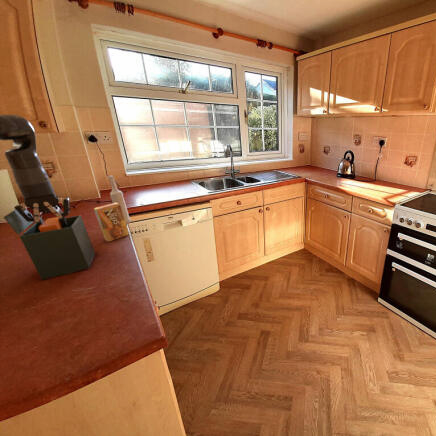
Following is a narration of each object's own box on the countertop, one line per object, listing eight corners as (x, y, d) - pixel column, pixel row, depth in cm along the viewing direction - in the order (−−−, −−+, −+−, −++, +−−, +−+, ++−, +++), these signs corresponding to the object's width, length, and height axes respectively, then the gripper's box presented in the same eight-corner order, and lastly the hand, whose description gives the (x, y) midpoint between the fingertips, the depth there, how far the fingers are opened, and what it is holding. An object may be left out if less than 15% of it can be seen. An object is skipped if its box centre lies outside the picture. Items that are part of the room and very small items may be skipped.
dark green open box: (41, 279, 83) (19, 236, 76) (53, 262, 93) (35, 222, 87) (89, 268, 88) (71, 227, 82) (95, 252, 99) (80, 215, 93)
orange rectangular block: (42, 237, 81) (38, 227, 79) (51, 227, 88) (47, 218, 87) (60, 233, 83) (56, 224, 81) (67, 224, 90) (63, 216, 89)
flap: (19, 234, 76) (17, 234, 76) (34, 220, 87) (33, 221, 87) (4, 216, 73) (3, 217, 73) (22, 204, 84) (21, 205, 84)
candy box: (125, 232, 116) (116, 202, 110) (129, 234, 114) (120, 203, 108) (104, 239, 110) (92, 208, 104) (108, 242, 107) (96, 209, 102)
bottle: (119, 225, 124) (103, 177, 115) (119, 222, 128) (104, 175, 119) (131, 223, 127) (116, 176, 117) (131, 220, 131) (117, 174, 121)
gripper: (65, 176, 85) (82, 221, 91) (8, 182, 79) (32, 230, 85) (58, 180, 79) (78, 228, 85) (-4, 187, 72) (23, 238, 79)
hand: (54, 229), depth 85 cm, fingers closed on orange rectangular block, 4 cm apart
